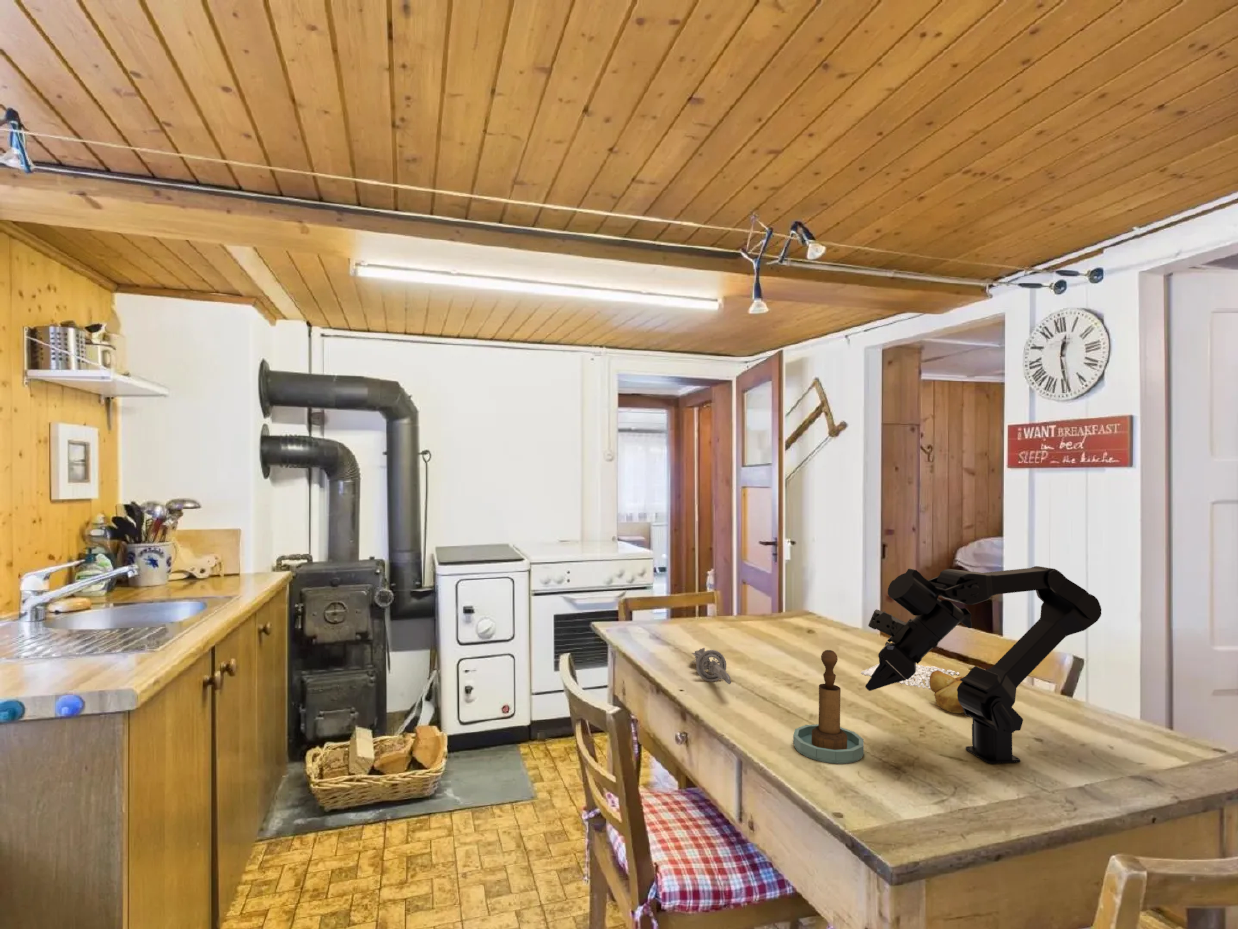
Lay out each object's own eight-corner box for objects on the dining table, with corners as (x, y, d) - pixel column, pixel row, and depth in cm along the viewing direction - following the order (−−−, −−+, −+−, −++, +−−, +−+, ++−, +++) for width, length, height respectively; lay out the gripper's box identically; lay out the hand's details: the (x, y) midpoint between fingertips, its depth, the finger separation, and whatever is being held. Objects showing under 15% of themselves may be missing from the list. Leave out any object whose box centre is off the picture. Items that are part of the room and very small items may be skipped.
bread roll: (979, 702, 145) (978, 667, 145) (1006, 717, 135) (1005, 680, 135) (924, 702, 144) (924, 667, 145) (948, 718, 135) (947, 680, 135)
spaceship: (707, 670, 142) (738, 656, 143) (678, 647, 176) (703, 635, 177) (721, 703, 141) (752, 689, 142) (689, 673, 176) (714, 662, 177)
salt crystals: (889, 662, 179) (889, 656, 179) (963, 677, 165) (963, 671, 165) (858, 676, 165) (858, 670, 165) (937, 694, 151) (937, 688, 151)
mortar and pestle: (850, 754, 115) (849, 656, 115) (813, 751, 116) (813, 654, 117) (844, 739, 121) (844, 647, 122) (809, 737, 123) (809, 645, 123)
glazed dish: (877, 761, 113) (876, 749, 113) (811, 765, 111) (811, 753, 112) (842, 734, 126) (842, 723, 126) (783, 737, 124) (783, 726, 124)
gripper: (897, 592, 127) (844, 644, 131) (888, 600, 111) (828, 659, 114) (944, 633, 122) (887, 686, 126) (942, 648, 106) (877, 708, 110)
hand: (870, 683), depth 119 cm, fingers open, 9 cm apart
